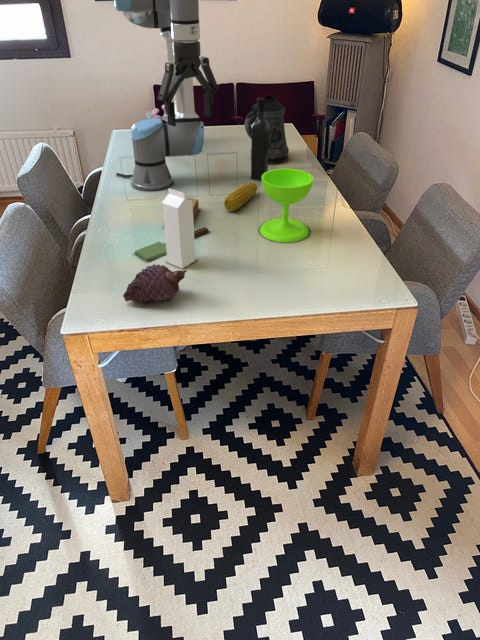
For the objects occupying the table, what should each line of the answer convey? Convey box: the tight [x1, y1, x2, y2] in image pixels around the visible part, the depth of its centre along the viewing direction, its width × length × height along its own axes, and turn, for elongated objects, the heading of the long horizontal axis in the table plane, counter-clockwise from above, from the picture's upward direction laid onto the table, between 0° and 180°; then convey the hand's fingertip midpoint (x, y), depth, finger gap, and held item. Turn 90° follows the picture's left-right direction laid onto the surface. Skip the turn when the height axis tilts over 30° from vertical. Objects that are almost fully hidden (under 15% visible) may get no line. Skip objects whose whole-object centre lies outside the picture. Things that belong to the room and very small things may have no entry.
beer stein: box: [244, 96, 290, 165], centre depth 216 cm, size 16×19×25 cm
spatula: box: [134, 226, 209, 263], centre depth 161 cm, size 26×6×1 cm, turn 133°
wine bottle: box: [250, 97, 269, 181], centre depth 197 cm, size 6×6×30 cm
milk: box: [161, 188, 196, 269], centre depth 146 cm, size 6×6×22 cm
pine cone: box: [123, 263, 187, 303], centre depth 134 cm, size 18×10×10 cm
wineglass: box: [259, 167, 314, 243], centre depth 163 cm, size 16×16×18 cm
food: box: [223, 182, 258, 212], centre depth 185 cm, size 21×6×6 cm, turn 155°
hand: (190, 120), depth 153 cm, fingers open, 13 cm apart
